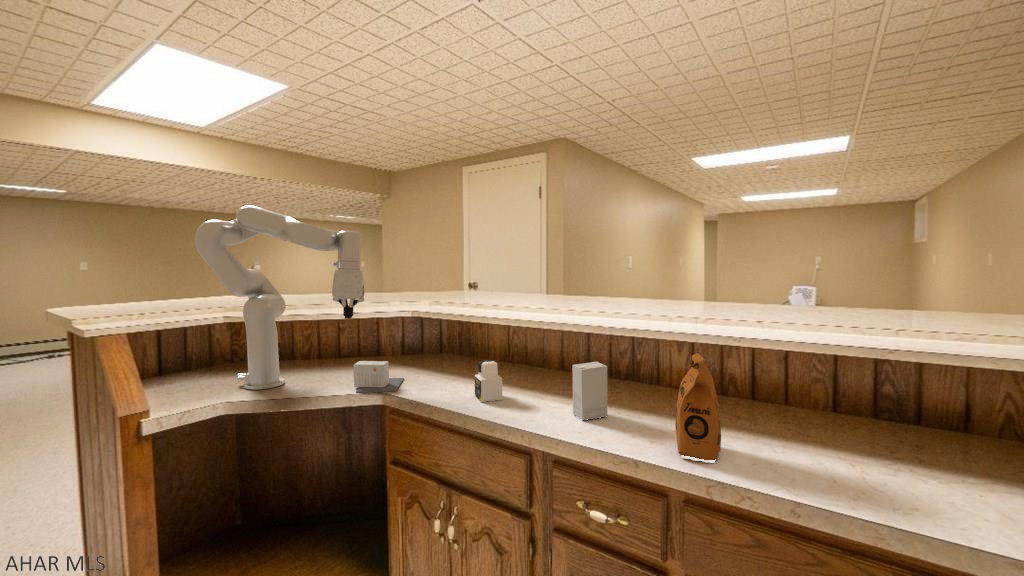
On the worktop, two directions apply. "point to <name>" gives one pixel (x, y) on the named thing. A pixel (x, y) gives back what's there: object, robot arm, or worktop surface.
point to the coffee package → (698, 414)
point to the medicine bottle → (488, 382)
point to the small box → (371, 374)
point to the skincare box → (589, 390)
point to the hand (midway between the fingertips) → (348, 318)
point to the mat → (390, 387)
